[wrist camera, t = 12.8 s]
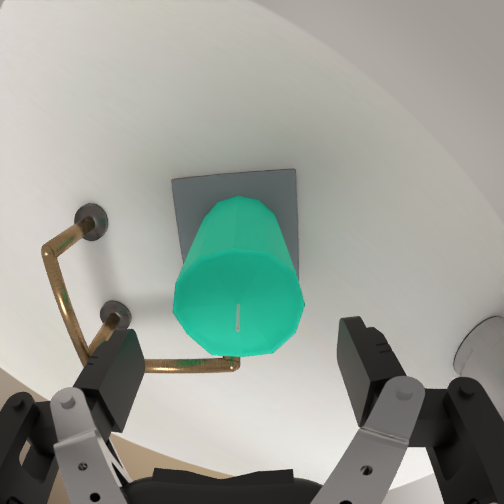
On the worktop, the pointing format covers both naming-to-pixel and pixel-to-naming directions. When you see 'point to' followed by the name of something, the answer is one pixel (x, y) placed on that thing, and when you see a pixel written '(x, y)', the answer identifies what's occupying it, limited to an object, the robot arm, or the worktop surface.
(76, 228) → the handrail
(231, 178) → the coaster
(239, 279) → the candle
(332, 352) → the worktop surface
